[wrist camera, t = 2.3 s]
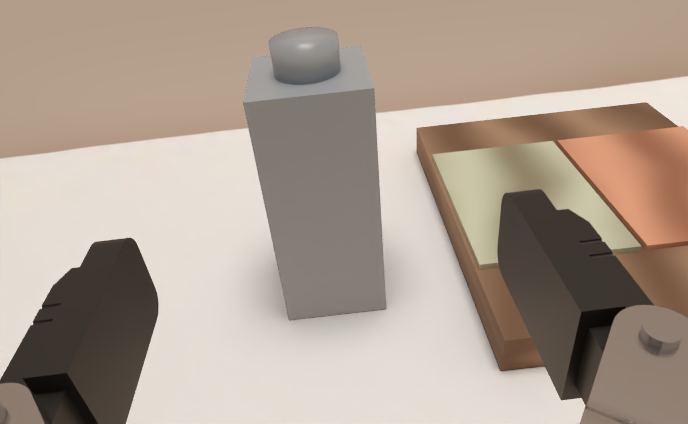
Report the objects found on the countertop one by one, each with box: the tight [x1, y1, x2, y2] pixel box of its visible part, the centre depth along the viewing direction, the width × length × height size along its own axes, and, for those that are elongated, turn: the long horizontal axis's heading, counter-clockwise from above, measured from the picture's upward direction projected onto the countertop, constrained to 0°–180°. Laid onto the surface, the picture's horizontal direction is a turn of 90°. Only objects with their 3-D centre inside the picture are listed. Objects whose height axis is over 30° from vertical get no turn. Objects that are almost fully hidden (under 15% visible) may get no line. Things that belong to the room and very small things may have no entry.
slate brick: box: [243, 27, 386, 320], centre depth 25 cm, size 5×5×13 cm
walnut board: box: [417, 103, 688, 371], centre depth 31 cm, size 17×20×2 cm
